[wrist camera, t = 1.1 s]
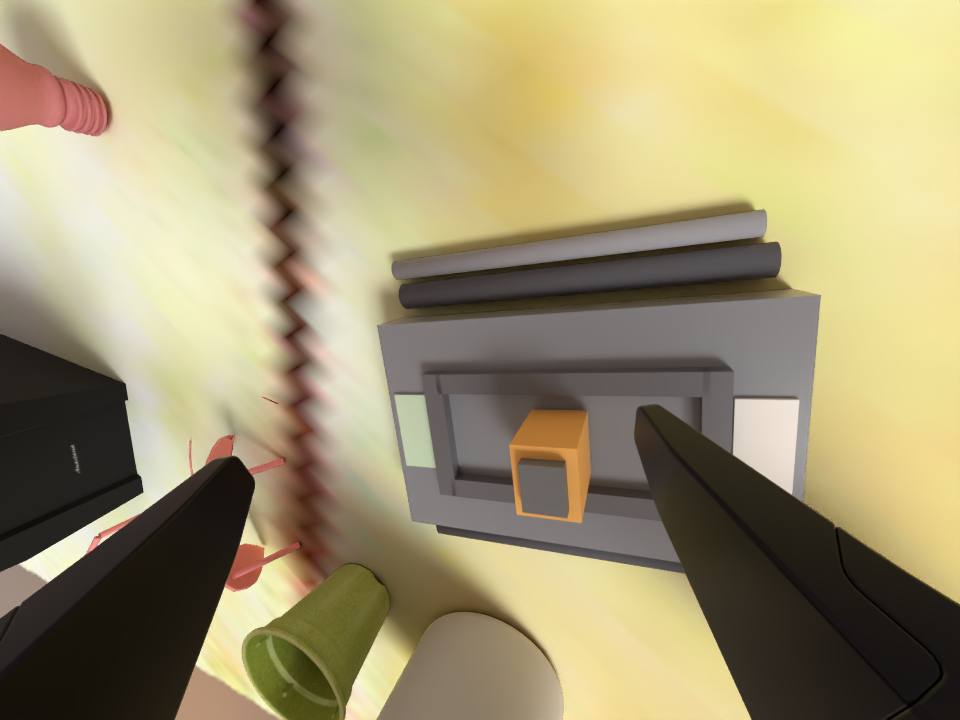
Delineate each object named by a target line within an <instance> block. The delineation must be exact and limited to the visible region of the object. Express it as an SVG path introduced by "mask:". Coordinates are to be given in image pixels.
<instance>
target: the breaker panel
mask: <svg viewBox="0 0 960 720" xmlns="http://www.w3.org/2000/svg"><path fill="white" fill-rule="evenodd" d="M820 297H821V295H818V294H813V293H809V292H804V291H800V290H796V289H785V290H772V291H759V292H745V293H732V294H719V295H705V296H692V297H679V298H665V299H652V300H638V301H625V302H612V303H598V304H585V305H572V306H558V307H545V308H532V309H518V310H505V311H491V312H478V313H465V314H451V315H438V316H425V317H411V318H402V319H398V320H395V321H391V322H388V323H384V324H381V325H377V327H378V332H379V338H380V343H381V349H382V355H383V360H384V366H385V372H386V377H387V383H388V388H389V394H390V400H391V405H392V411H393V417H394V422H395V428H396V433H397V439H398V445H399V450H400V456H401V462H402V467H403V473H404V478H405V484H406V490H407V495H408V501H409V507H410V512H411V518H412V521H415V522H421V523H428V524H434V525H440V526H447V527H453V528H460V529H466V530H473V531H479V532H486V533H492V534H499V535H505V536H511V537H518V538H524V539H531V540H537V541H544V542H550V543H557V544H563V545H569V546H576V547H582V548H589V549H595V550H602V551H608V552H615V553H621V554H628V555H634V556H640V557H647V558H653V559H660V560H666V561H673V562H679V563H680V560H679V558H678V556H677V554H676V552H675V549H674V547H673V545H672V543H671V541H670V538H669V536H668V534H667V532H666V530H665V527H664V525H663V523H662V521H661V518H660V516H659V514H658V511H657V509H656V506H655V503H654V500H653V497H652V494H651V491H650V488H649V485H648V481H647V478H646V475H645V472H644V469H643V466H642V463H641V460H640V457H639V453H638V450H637V447H636V444H635V440H634V428H635V419H636V411H637V408H638V407H639V406H642V405H651V404H658V405H661V406H662V407H664V408H665V409H667V410H668V411H670V412H671V413H672V414H674V415H675V416H677V417H678V418H680V419H681V420H683V421H684V422H686V423H687V424H689V425H690V426H692V427H693V428H695V429H696V430H697V431H699V432H700V433H702V434H703V435H705V436H706V437H708V438H709V439H711V440H712V441H714V442H715V443H717V444H718V445H720V446H721V447H722V448H724V449H725V450H727V451H728V452H730V453H731V454H733V455H734V456H736V457H737V458H739V459H740V460H742V461H743V462H745V463H746V464H747V465H749V466H750V467H752V468H753V469H755V470H756V471H758V472H759V473H761V474H762V475H764V476H765V477H767V478H768V479H770V480H771V481H772V482H774V483H775V484H777V485H778V486H780V487H781V488H783V489H784V490H786V491H787V492H789V493H790V494H792V495H793V496H795V497H796V498H797V499H799V500H800V501H802V502H803V497H804V485H805V473H806V462H807V450H808V438H809V426H810V415H811V403H812V391H813V379H814V367H815V356H816V344H817V332H818V320H819V309H820ZM532 409H545V410H584V411H588V425H589V443H590V461H591V475H590V481H589V486H588V492H587V497H586V502H585V508H584V513H583V519H582V523H576V522H569V521H561V520H554V519H546V518H539V517H531V516H523V515H517V513H516V504H515V494H514V485H513V476H512V466H511V457H510V447H509V445H510V443H511V441H512V440H513V438H514V437H515V435H516V434H517V432H518V430H519V429H520V427H521V426H522V424H523V423H524V421H525V419H526V418H527V416H528V415H529V413H530V412H531V410H532Z"/></svg>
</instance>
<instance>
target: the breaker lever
mask: <svg viewBox="0 0 960 720" xmlns="http://www.w3.org/2000/svg"><path fill="white" fill-rule="evenodd" d="M509 447H510V457H511V466H512V476H513V485H514V494H515V504H516V513H517V515H523V516H531V517H539V518H546V519H554V520H561V521H569V522H576V523H582V519H583V513H584V508H585V502H586V497H587V492H588V486H589V481H590V475H591V461H590V443H589V425H588V411H584V410H545V409H532V410H531V412H530V413H529V415H528V416H527V418H526V419H525V421H524V423H523V424H522V426H521V427H520V429H519V430H518V432H517V434H516V435H515V437H514V438H513V440H512V441H511V443H510V445H509Z"/></svg>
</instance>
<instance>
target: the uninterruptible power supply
mask: <svg viewBox="0 0 960 720" xmlns="http://www.w3.org/2000/svg"><path fill="white" fill-rule="evenodd" d="M126 400H128V396H127V390H126V384H125V383H122V382H120V381H117V380H115V379H112V378H110V377H107V376H105V375H102V374H100V373H97V372H95V371H92V370H90V369H87V368H85V367H82V366H79V365H77V364H74V363H72V362H69V361H67V360H64V359H62V358H59V357H57V356H54V355H52V354H49V353H47V352H44V351H42V350H39V349H37V348H34V347H32V346H29V345H27V344H24V343H22V342H19V341H17V340H14V339H12V338H9V337H7V336H4V335H2V334H0V572H1V571H3V570H5V569H8V568H10V567H12V566H14V565H17V564H19V563H22V562H24V561H26V560H28V559H30V558H32V557H33V556H35V555H37V554H38V553H40V552H42V551H44V550H45V549H47V548H49V547H50V546H52V545H54V544H56V543H57V542H59V541H61V540H62V539H64V538H66V537H68V536H69V535H71V534H73V533H74V532H76V531H78V530H80V529H81V528H83V527H85V526H86V525H88V524H90V523H92V522H93V521H95V520H97V519H98V518H100V517H102V516H104V515H105V514H107V513H109V512H110V511H112V510H114V509H116V508H117V507H119V506H121V505H122V504H124V503H126V502H128V501H129V500H131V499H133V498H135V497H136V496H138V495H140V494H141V493H143V486H142V480H141V477H140V476H139V475H138V474H137V470H136V465H135V459H134V453H133V447H132V441H131V435H130V429H129V423H128V417H127V411H126V405H125V401H126Z"/></svg>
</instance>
